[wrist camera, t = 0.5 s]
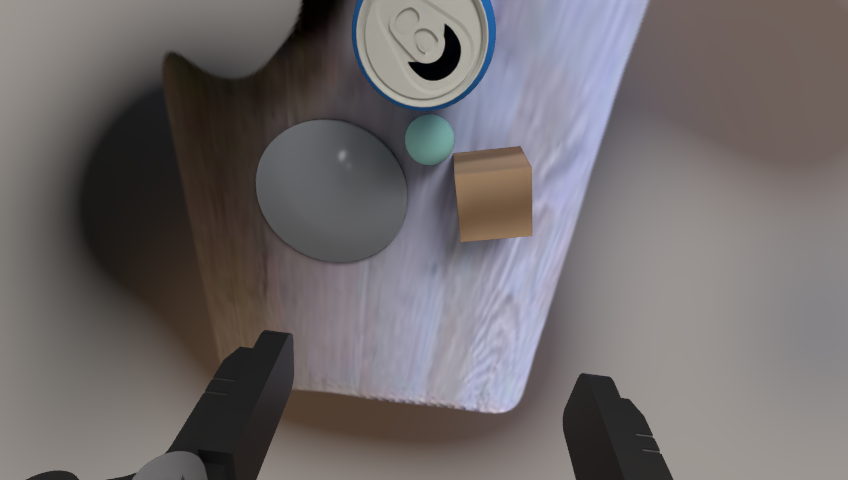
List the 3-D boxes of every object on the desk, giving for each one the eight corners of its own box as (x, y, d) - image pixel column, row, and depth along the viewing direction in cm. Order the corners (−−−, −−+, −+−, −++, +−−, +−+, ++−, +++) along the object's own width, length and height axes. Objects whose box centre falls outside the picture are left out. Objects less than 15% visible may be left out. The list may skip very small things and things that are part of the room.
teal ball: (410, 106, 31) (406, 116, 28) (457, 113, 32) (459, 125, 28) (404, 153, 33) (400, 167, 30) (449, 159, 33) (450, 175, 30)
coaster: (255, 107, 32) (252, 109, 31) (417, 131, 32) (416, 133, 32) (261, 248, 38) (259, 251, 37) (399, 267, 38) (398, 271, 37)
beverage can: (428, 98, 31) (419, 146, 21) (362, 25, 29) (314, 36, 19) (499, 29, 29) (530, 42, 18) (433, -55, 27) (424, -96, 16)
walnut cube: (453, 153, 33) (454, 175, 29) (520, 145, 33) (531, 167, 28) (459, 212, 35) (460, 241, 31) (521, 207, 35) (532, 235, 30)
